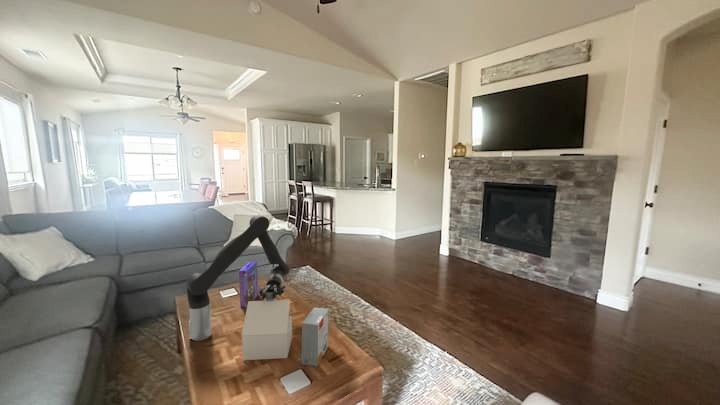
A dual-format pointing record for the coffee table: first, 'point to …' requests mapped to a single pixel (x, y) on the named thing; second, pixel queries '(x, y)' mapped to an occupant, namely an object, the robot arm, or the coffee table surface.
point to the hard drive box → (314, 336)
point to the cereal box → (248, 283)
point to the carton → (267, 345)
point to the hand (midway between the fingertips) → (268, 297)
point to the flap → (266, 317)
